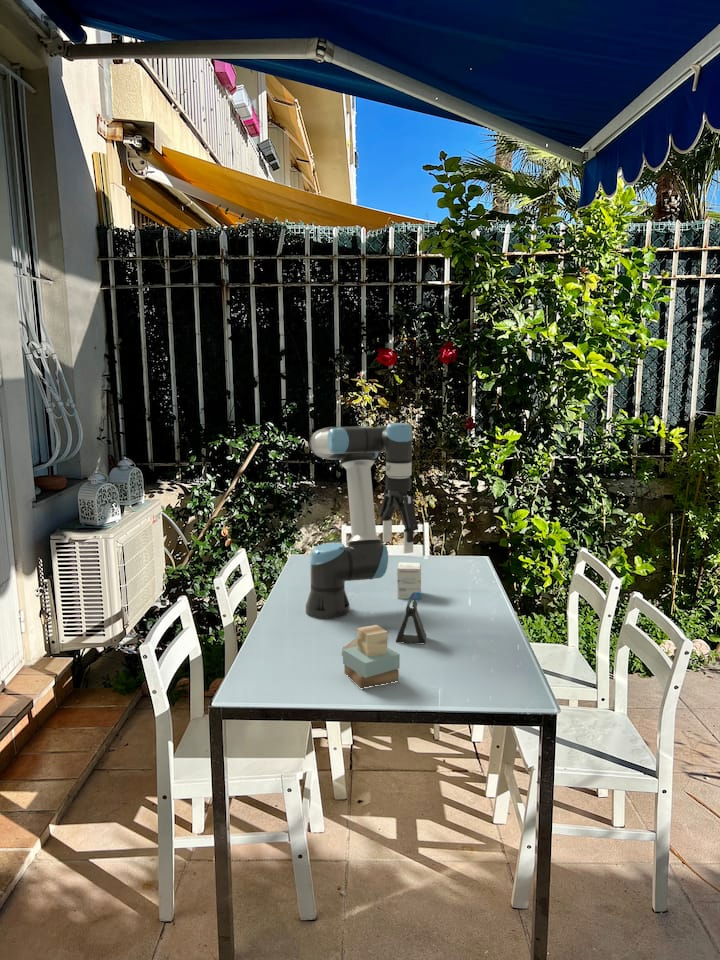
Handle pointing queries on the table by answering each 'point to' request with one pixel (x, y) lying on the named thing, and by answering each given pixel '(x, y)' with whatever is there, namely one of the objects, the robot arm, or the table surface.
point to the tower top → (370, 662)
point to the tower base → (372, 677)
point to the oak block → (372, 640)
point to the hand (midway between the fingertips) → (397, 547)
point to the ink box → (409, 580)
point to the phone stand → (418, 625)
